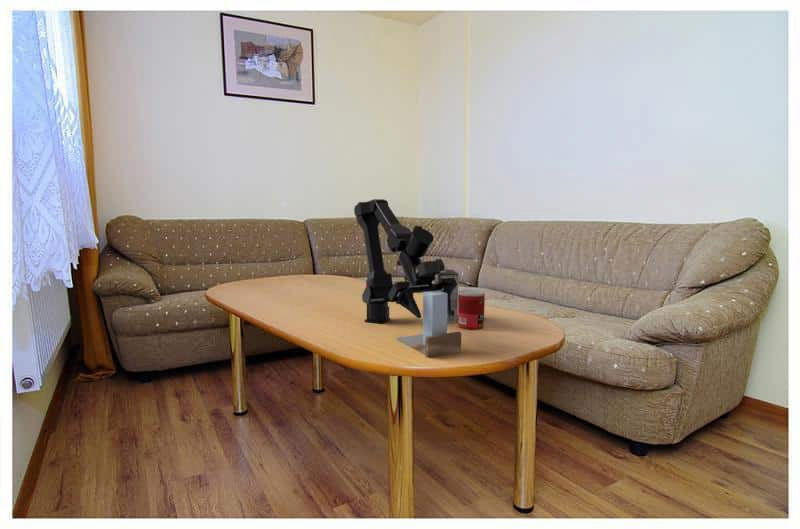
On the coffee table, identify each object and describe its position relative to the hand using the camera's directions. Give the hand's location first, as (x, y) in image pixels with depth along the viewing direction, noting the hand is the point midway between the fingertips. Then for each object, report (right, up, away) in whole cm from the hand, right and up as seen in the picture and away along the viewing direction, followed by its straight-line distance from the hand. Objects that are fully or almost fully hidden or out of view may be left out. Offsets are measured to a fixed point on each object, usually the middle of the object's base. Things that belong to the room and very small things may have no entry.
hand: (435, 315), depth 121 cm
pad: (-4, -8, +9) cm, 13 cm away
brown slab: (0, -9, +1) cm, 9 cm away
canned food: (+13, -6, +24) cm, 28 cm away
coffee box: (+6, -5, +33) cm, 34 cm away
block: (0, -9, +1) cm, 9 cm away
